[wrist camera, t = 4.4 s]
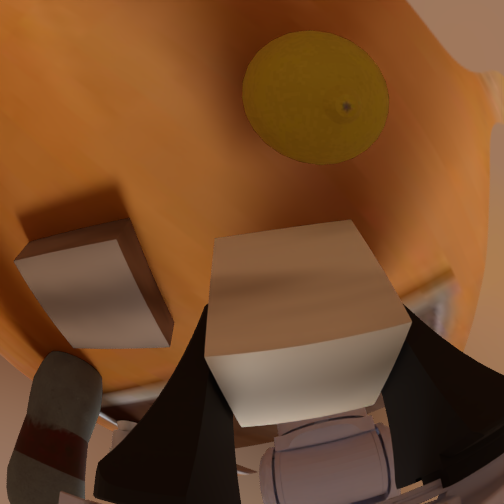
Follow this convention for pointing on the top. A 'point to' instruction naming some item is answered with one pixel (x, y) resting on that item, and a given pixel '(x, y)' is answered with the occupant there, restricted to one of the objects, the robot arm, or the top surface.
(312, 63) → the lemon
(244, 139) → the top surface
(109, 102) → the top surface
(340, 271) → the maple cube
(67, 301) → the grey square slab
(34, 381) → the bottle
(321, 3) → the top surface
